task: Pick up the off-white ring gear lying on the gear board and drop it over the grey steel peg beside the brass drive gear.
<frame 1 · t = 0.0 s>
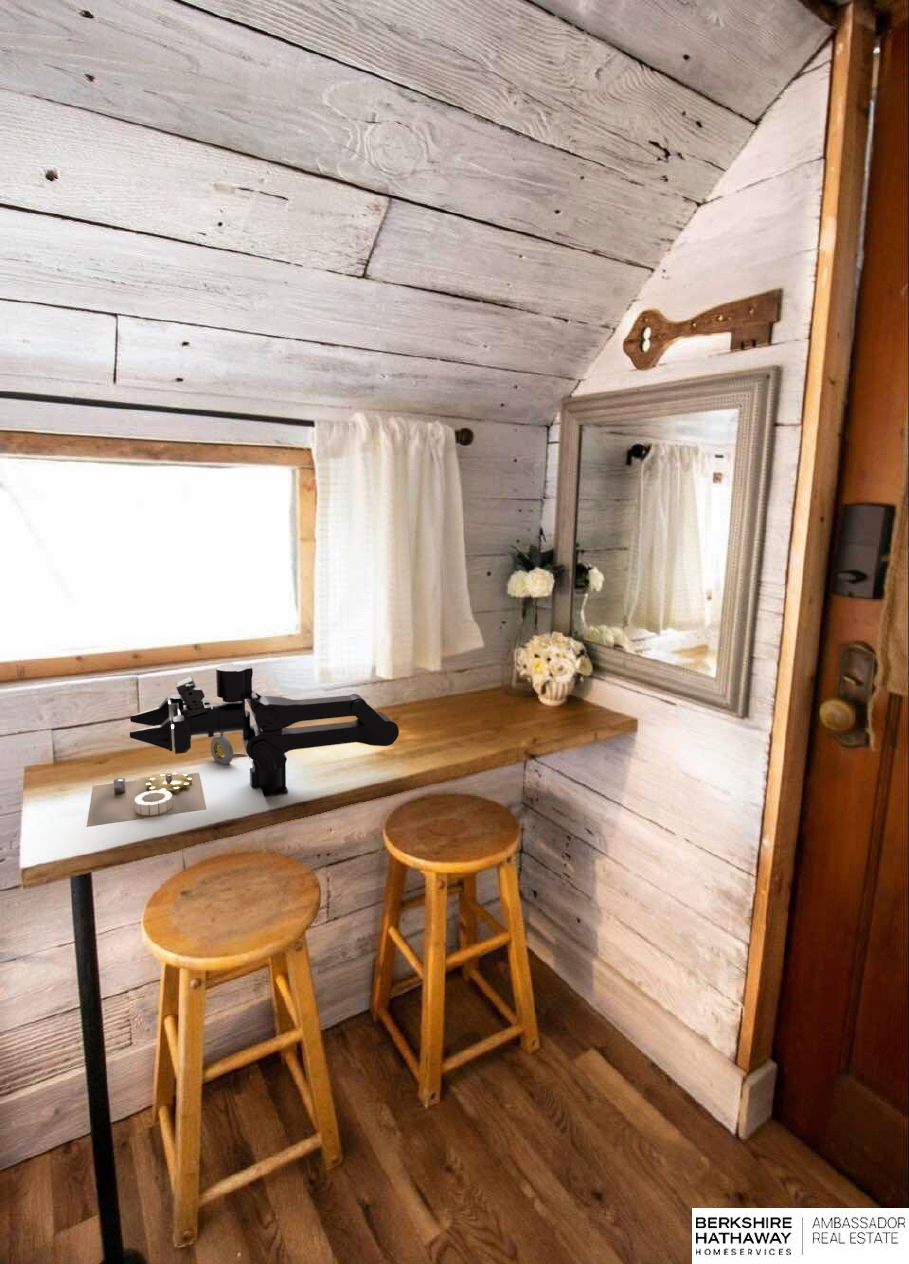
hand: (130, 726, 128), 17 cm above the bar counter, tool horizontal, fingers open, 9 cm apart
pocket watch: (230, 765, 153), on the bar counter
steel peg: (120, 799, 135), resting on gear board
brass drive gear: (169, 792, 138), resting on gear board
gear board: (148, 804, 133), on the bar counter
ring gear: (154, 807, 129), point 1 cm above the bar counter, touching gear board
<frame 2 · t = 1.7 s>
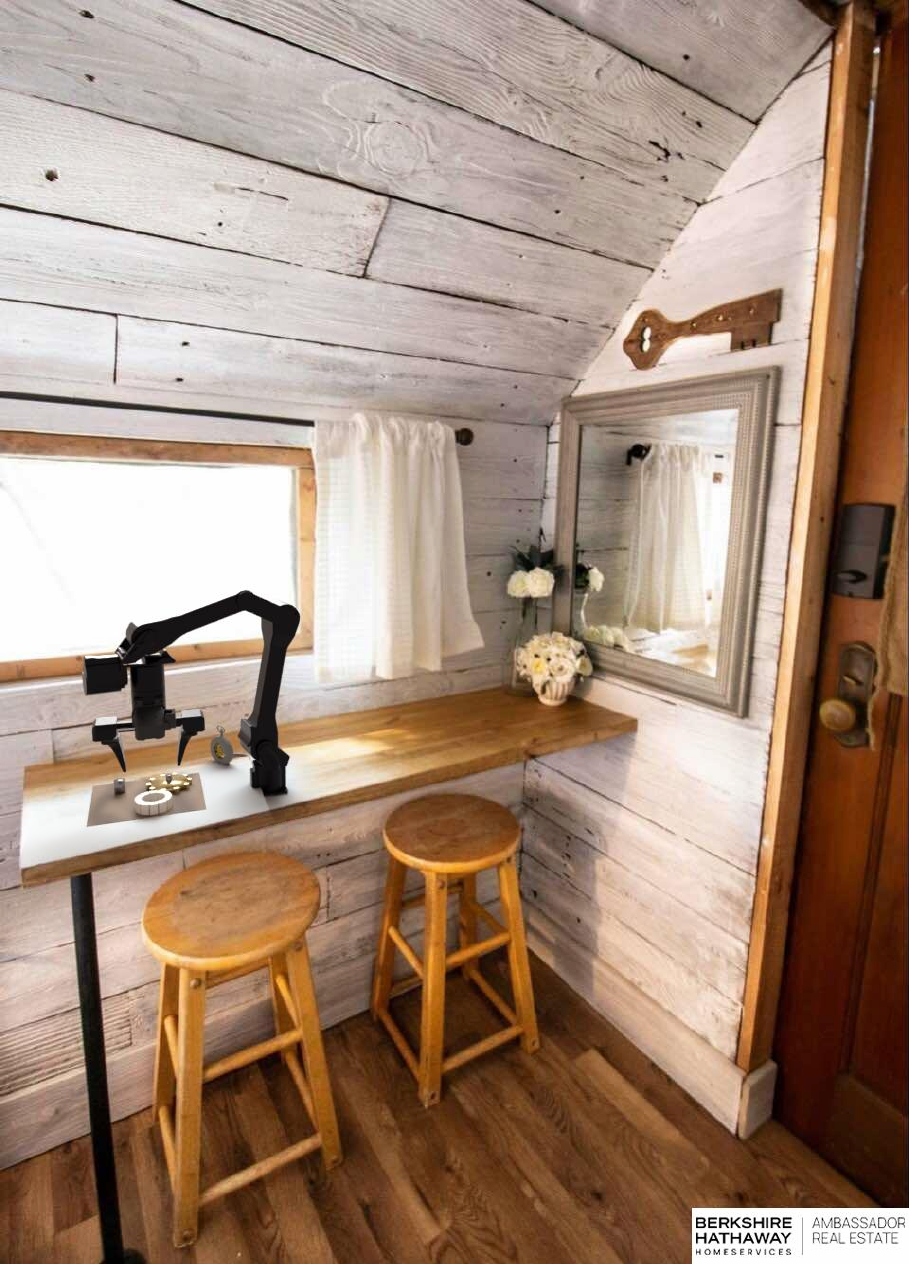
hand: (152, 768, 127), 9 cm above the bar counter, tool pointing down, fingers open, 9 cm apart
nothing on the bar counter moved.
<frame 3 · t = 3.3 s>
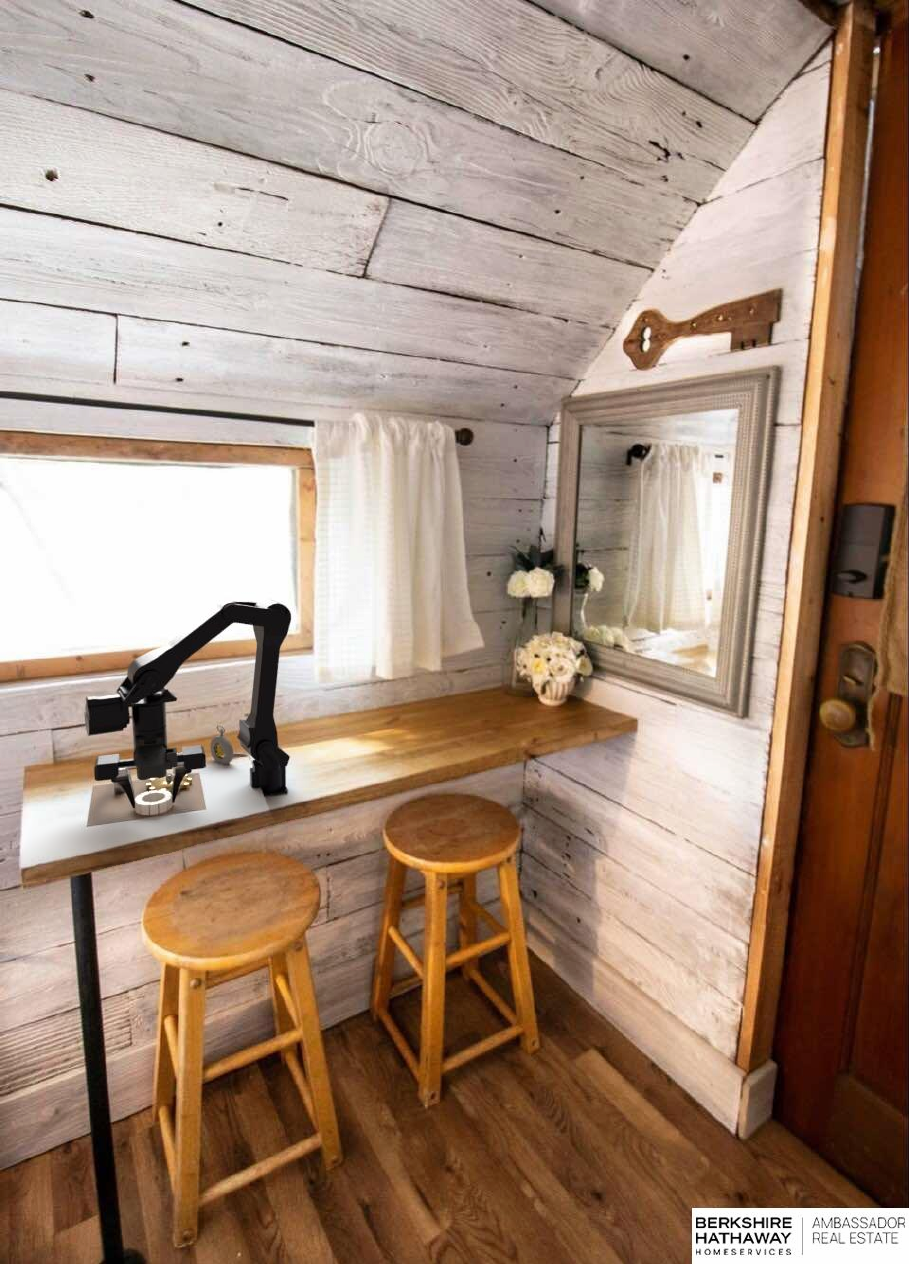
hand: (153, 804, 129), 2 cm above the bar counter, tool pointing down, fingers closed on ring gear, 6 cm apart
ring gear: (154, 807, 129), point 2 cm above the bar counter, touching gear board, gripper
everything else where it was.
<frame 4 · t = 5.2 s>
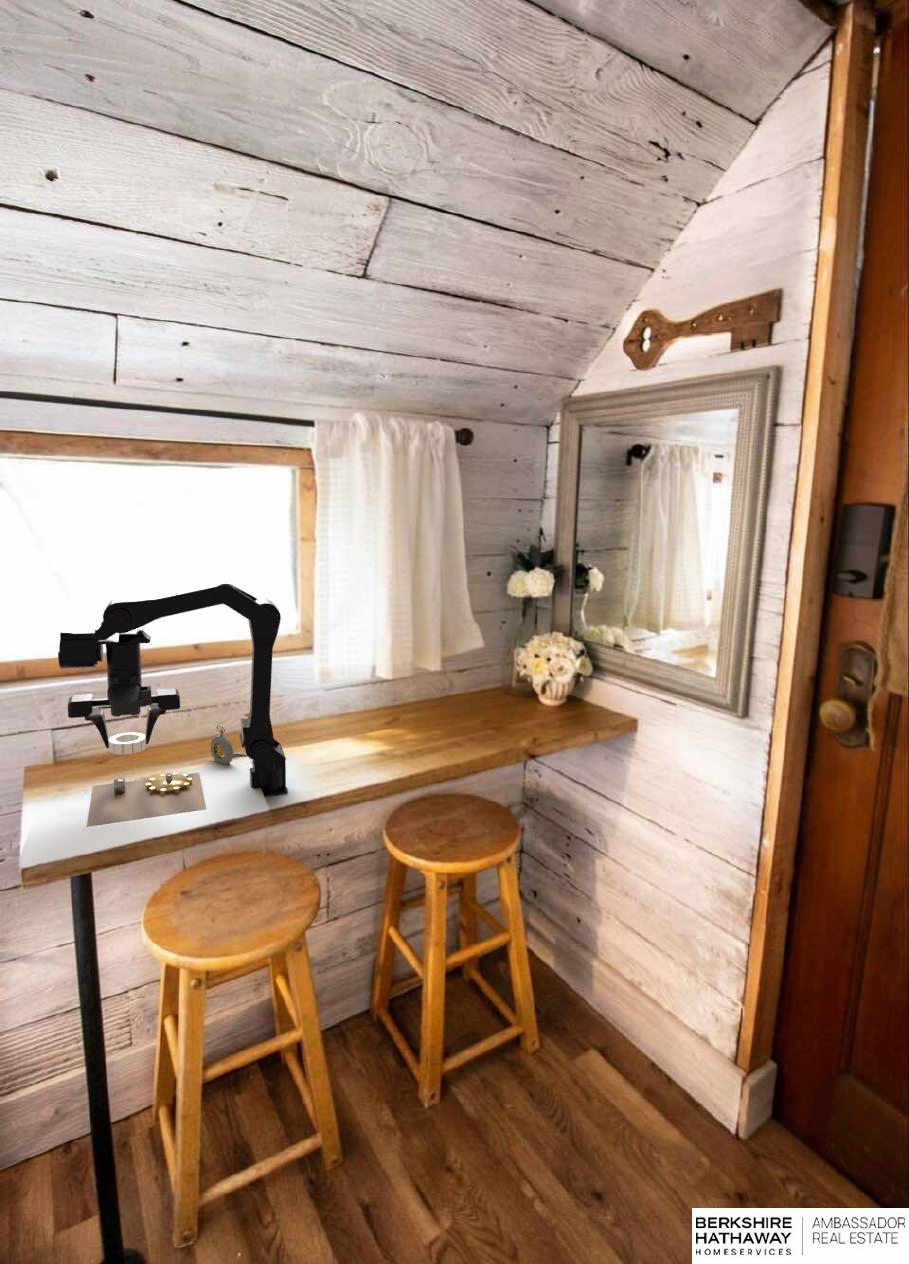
hand: (127, 745, 130), 12 cm above the bar counter, tool pointing down, fingers closed on ring gear, 6 cm apart
ring gear: (127, 748, 130), point 12 cm above the bar counter, touching gripper
everything else where it was.
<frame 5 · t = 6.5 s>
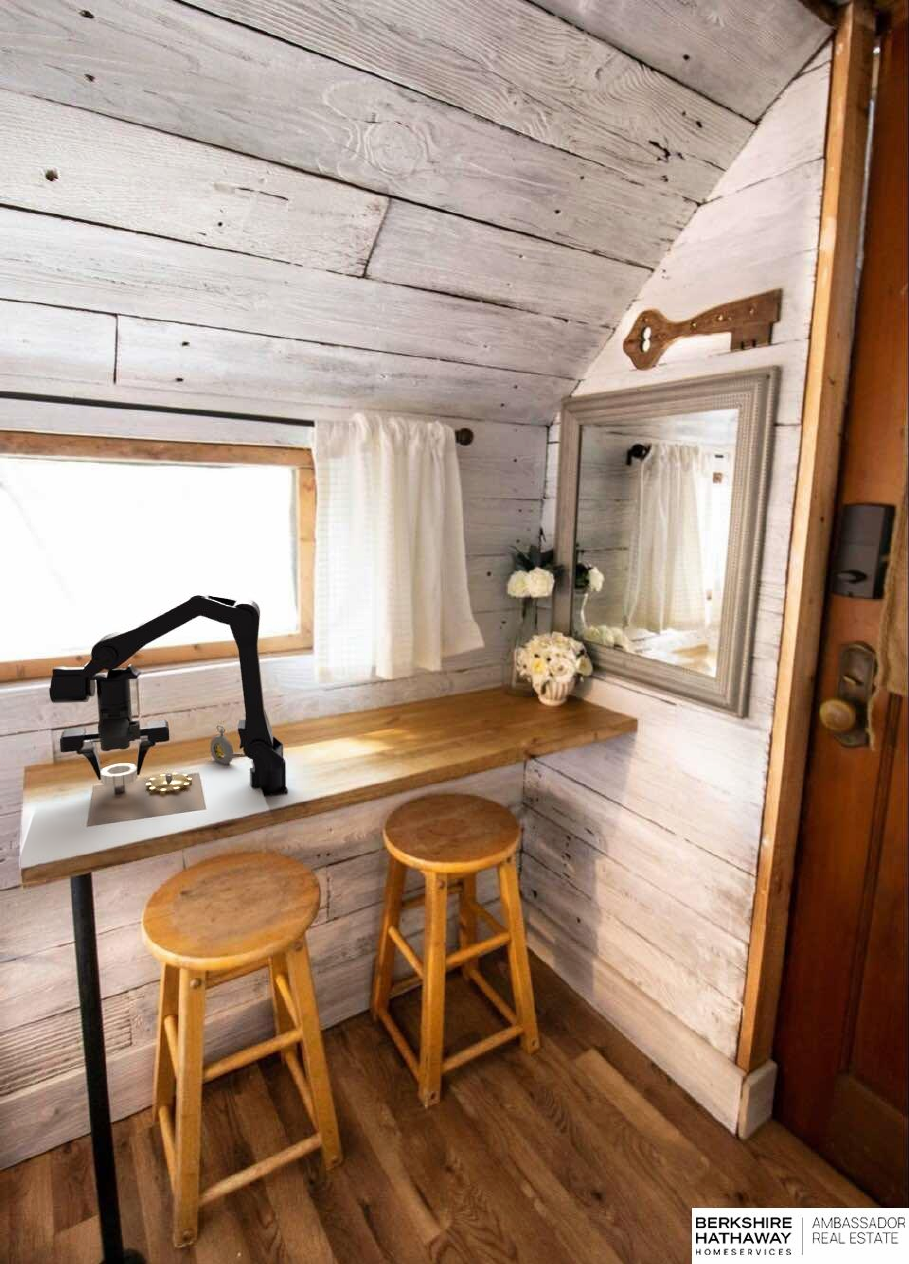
hand: (119, 776, 134), 5 cm above the bar counter, tool pointing down, fingers closed on ring gear, 6 cm apart
ring gear: (119, 779, 134), point 4 cm above the bar counter, touching gripper
everything else where it was.
when the fingers open (3 cm above the bar counter, at t = 7.6 s): ring gear drops 1 cm, resting on gear board.
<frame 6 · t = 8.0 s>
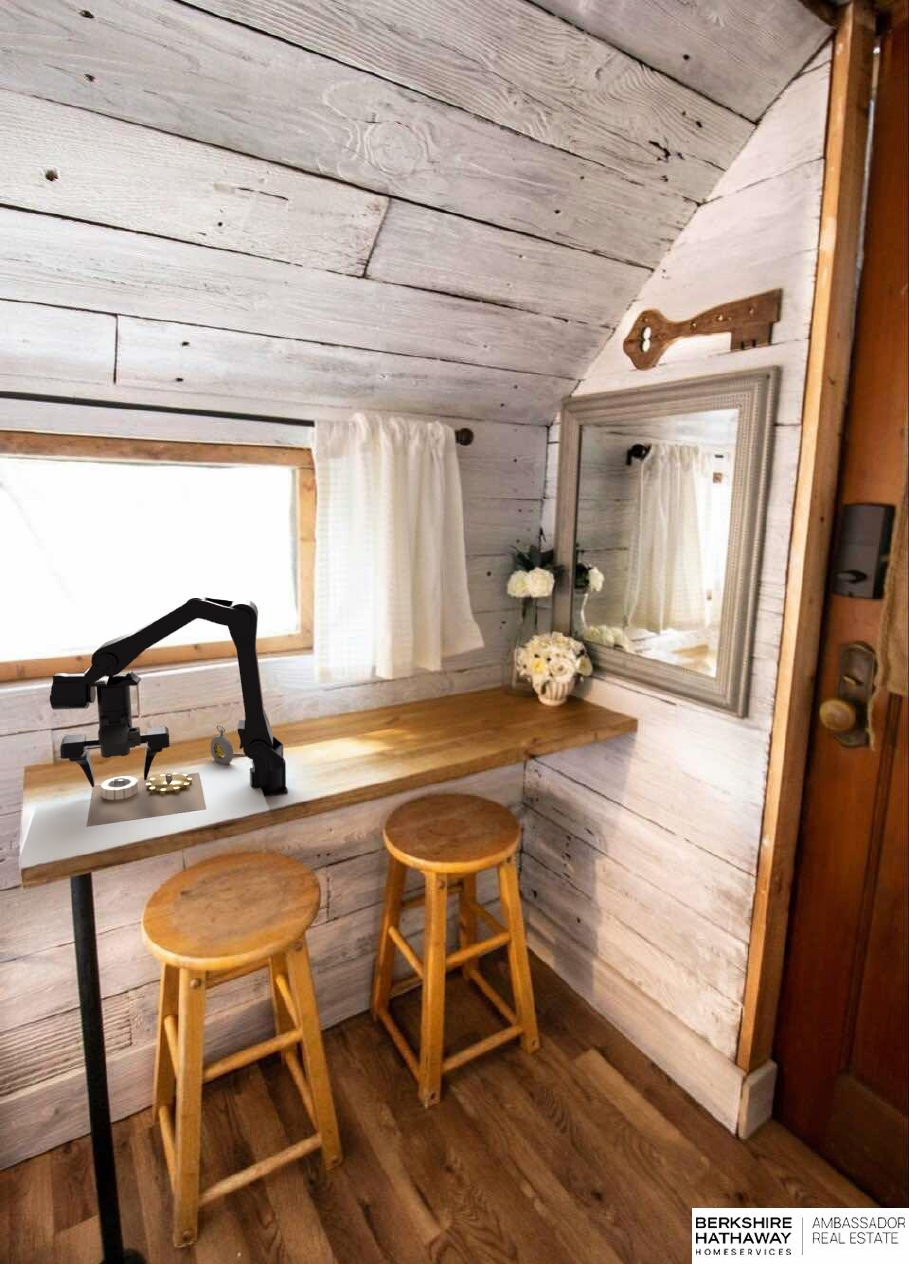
hand: (119, 782, 134), 3 cm above the bar counter, tool pointing down, fingers open, 9 cm apart
ring gear: (120, 792, 134), point 1 cm above the bar counter, touching gear board
everything else where it was.
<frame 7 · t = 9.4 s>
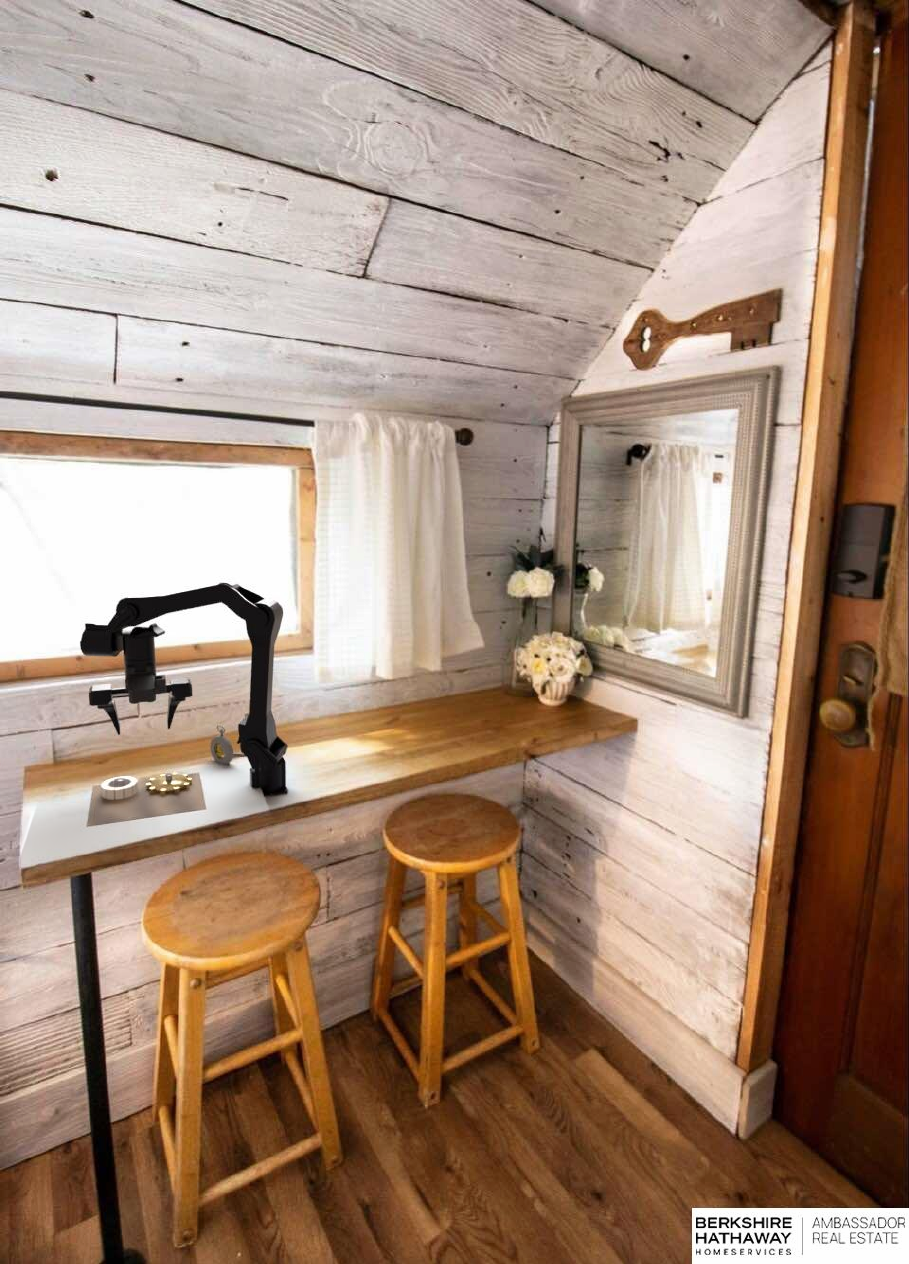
hand: (144, 731, 139), 12 cm above the bar counter, tool pointing down, fingers open, 9 cm apart
nothing on the bar counter moved.
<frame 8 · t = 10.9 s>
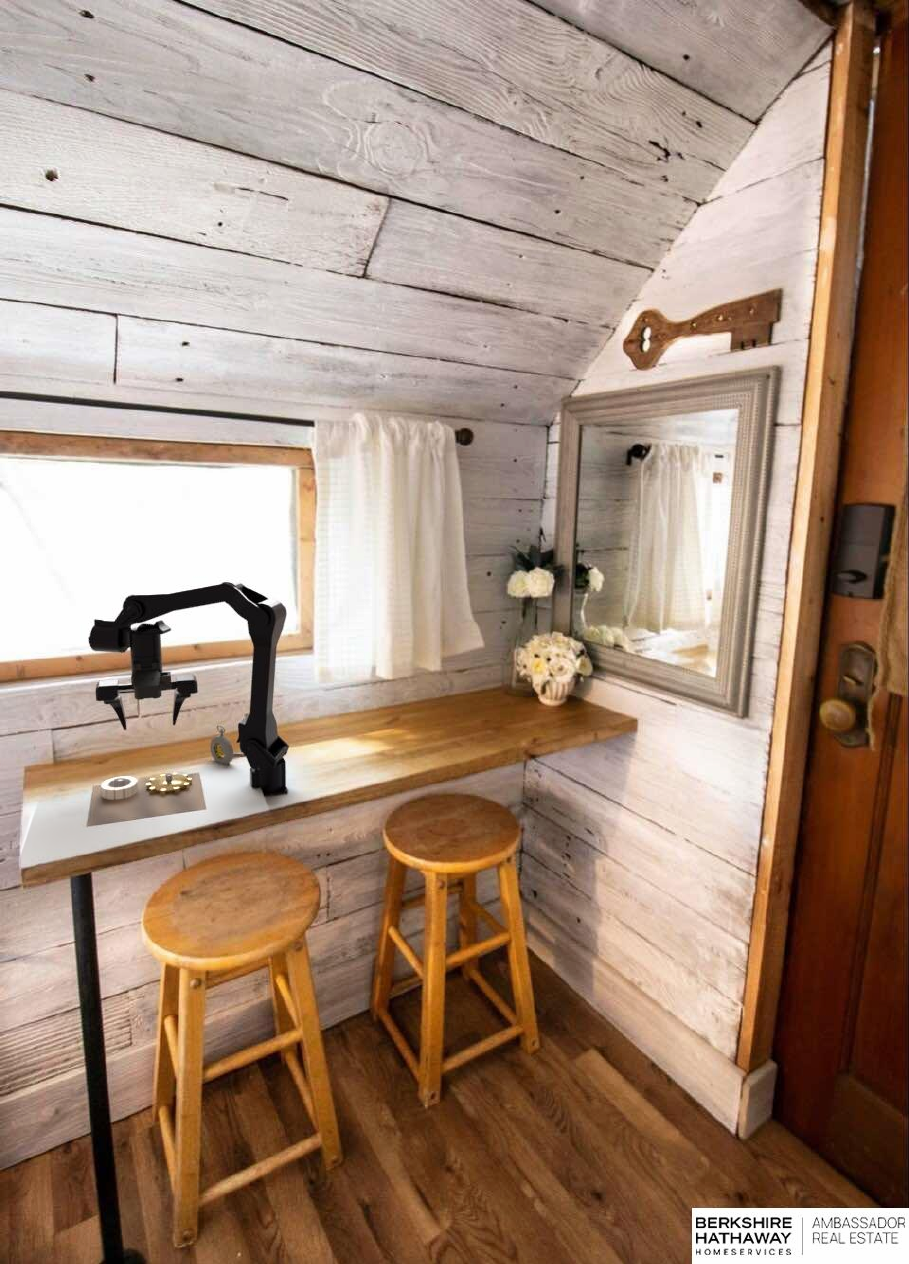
hand: (150, 727, 141), 12 cm above the bar counter, tool pointing down, fingers open, 9 cm apart
nothing on the bar counter moved.
at the end: ring gear 0.1 cm from the steel peg (horizontally); ring gear point 1.5 cm above the bar counter; the gripper is holding nothing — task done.
